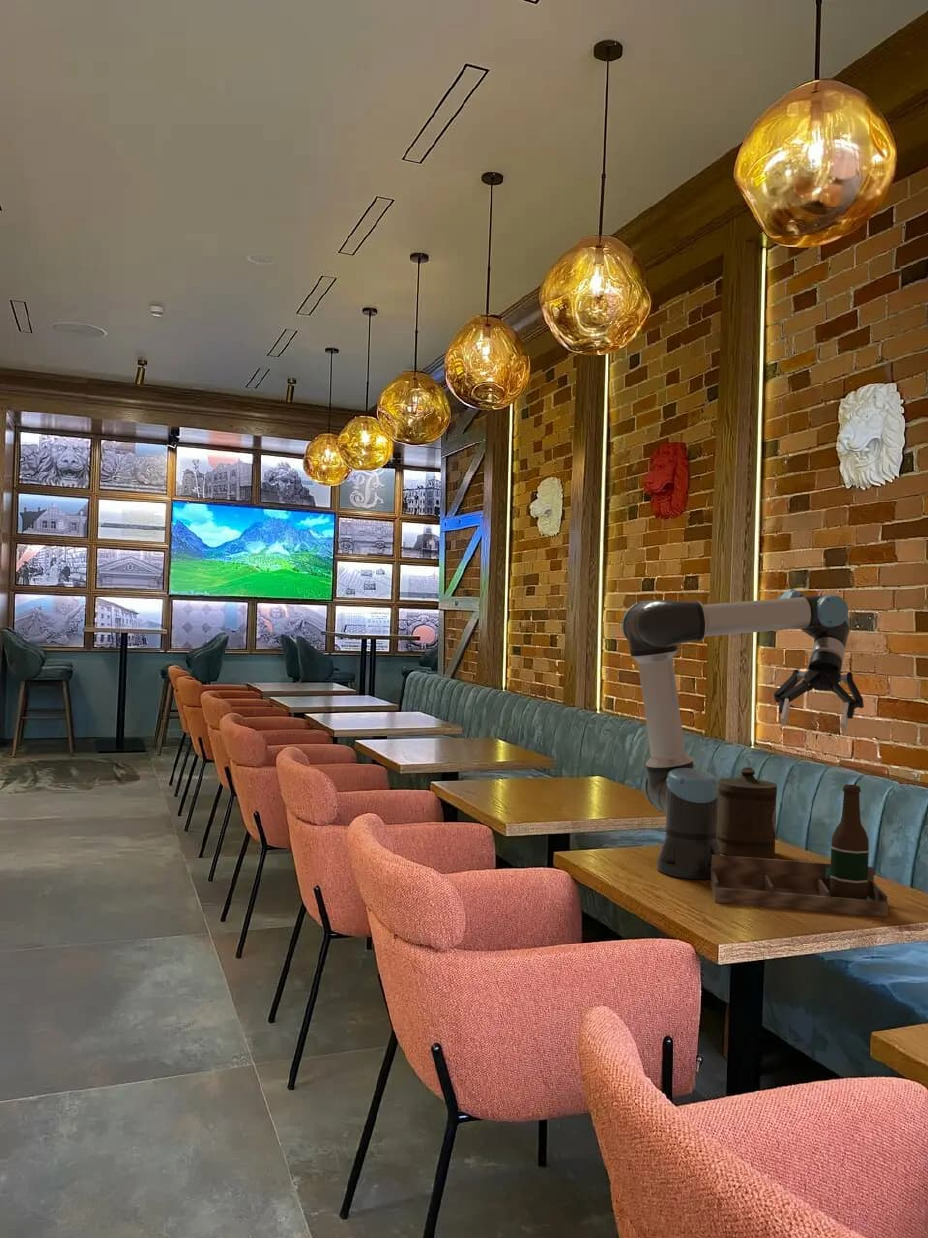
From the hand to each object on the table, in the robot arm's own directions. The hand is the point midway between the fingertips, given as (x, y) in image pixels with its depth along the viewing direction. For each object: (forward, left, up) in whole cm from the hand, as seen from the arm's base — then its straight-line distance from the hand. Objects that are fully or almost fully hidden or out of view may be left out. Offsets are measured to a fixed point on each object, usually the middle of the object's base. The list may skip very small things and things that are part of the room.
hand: (812, 724), depth 220 cm
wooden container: (-12, +21, -36) cm, 43 cm away
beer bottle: (+5, -22, -35) cm, 41 cm away
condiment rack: (-6, -22, -36) cm, 42 cm away
